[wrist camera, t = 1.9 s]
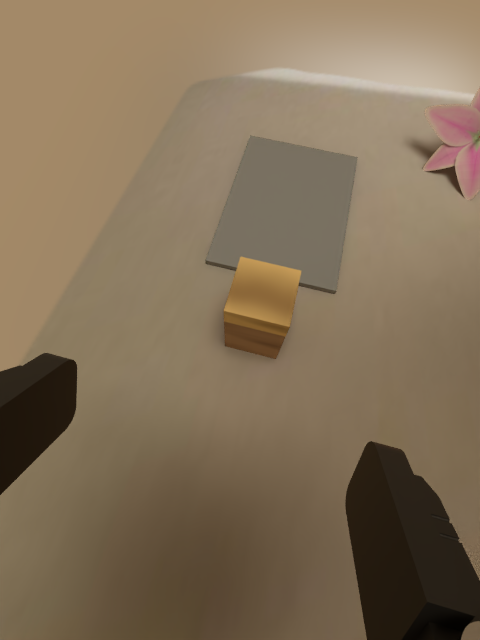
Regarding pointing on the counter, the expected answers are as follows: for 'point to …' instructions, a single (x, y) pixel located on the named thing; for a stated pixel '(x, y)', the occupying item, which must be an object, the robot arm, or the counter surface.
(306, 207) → the mat
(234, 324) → the block
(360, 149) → the counter surface
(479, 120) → the lily
